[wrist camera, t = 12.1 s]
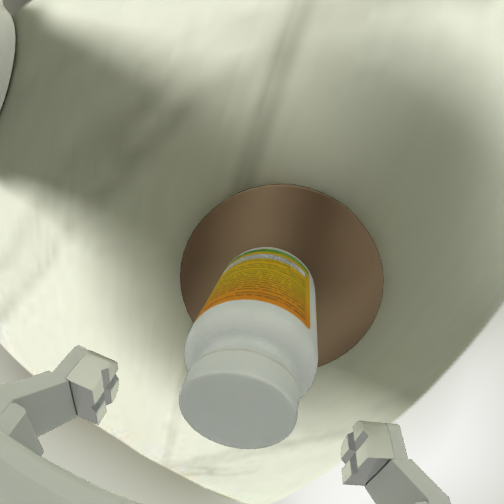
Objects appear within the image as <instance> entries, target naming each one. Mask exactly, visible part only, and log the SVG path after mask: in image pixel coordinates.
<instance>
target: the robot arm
mask: <svg viewBox="0 0 504 504" xmlns="http://www.w3.org/2000/svg"><path fill="white" fill-rule="evenodd" d="M14 54H15V27H14V22H13V19H12V16H11V15H10V13H9V12H8V11H7V10H6V9H5V7H4V5H3V0H0V110H1V107H2V104H3V101H4V99H5V95H6V92H7V89H8V85H9V81H10V77H11V72H12V67H13V61H14ZM117 370H118V363H117V362H116V361H114V360H112V359H109V358H107V357H105V356H102V355H100V354H98V353H96V352H93V351H91V350H88V349H86V348H84V347H82V346H79V345H78V346H76V347H74V348H73V349H72V351H71V352H70V353H69V354H68V355H67V356H66V357H65V358H64V360H63V361H62V362H61V363H60V364H59V365H58V366H57V368H56V369H55V370H54V371H53V372H50V371H47V372H44V373H41V374H37V375H34V376H31V377H28V378H24V379H21V380H18V381H14V382H11V383H7V384H4V385H1V386H0V504H142V503H139V502H137V501H134V500H132V499H129V498H126V497H124V496H121V495H119V494H116V493H114V492H111V491H109V490H107V489H104V488H102V487H100V486H98V485H95V484H93V483H91V482H89V481H87V480H85V479H83V478H81V477H79V476H77V475H75V474H73V473H71V472H69V471H67V470H65V469H63V468H61V467H59V466H58V465H55V464H54V463H52V462H50V461H49V460H47V459H45V458H44V457H42V454H43V452H44V451H43V448H42V446H41V444H40V442H39V440H38V436H40V435H42V434H45V433H47V432H49V431H50V430H52V429H54V428H56V427H58V426H60V425H62V424H64V423H66V422H68V421H70V420H72V419H74V418H76V417H77V416H79V417H81V418H83V419H86V420H88V421H90V422H93V423H95V424H97V425H99V423H100V422H101V420H102V419H103V417H104V415H105V414H106V412H107V411H106V405H108V404H110V403H112V402H113V400H114V399H115V397H116V394H117V391H118V386H119V378H118V377H117V376H116V374H115V373H116V372H117ZM341 459H342V461H343V462H344V463H345V466H344V467H343V468H342V479H343V484H346V485H362V486H365V488H366V490H367V491H368V493H369V494H370V496H371V497H372V499H373V500H374V502H375V503H376V504H451V503H450V499H449V497H448V496H447V495H446V494H445V493H444V492H443V491H442V490H441V489H440V488H439V487H438V486H437V485H436V484H435V483H434V482H433V481H432V480H431V479H430V478H429V477H428V476H427V475H426V474H425V473H424V472H423V471H422V470H421V469H420V468H419V467H418V466H417V465H416V464H415V462H414V461H413V460H412V459H408V457H407V453H406V449H405V445H404V441H403V437H402V433H401V429H400V426H399V425H398V424H391V423H380V422H368V421H358V422H356V423H355V425H354V426H353V432H352V433H350V434H348V435H347V436H346V438H345V439H344V441H343V444H342V447H341Z"/></svg>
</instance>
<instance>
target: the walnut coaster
mask: <svg viewBox="0 0 504 504" xmlns="http://www.w3.org/2000/svg"><path fill="white" fill-rule="evenodd" d="M259 247H273V248H278V249H282V250H284V251H287V252H289V253H291V254H292V255H294V256H295V257H297V258H298V259H299V260H300V261H301V262H302V263H303V264H304V265H305V266H306V267H307V269H308V270H309V272H310V274H311V276H312V278H313V282H314V286H315V294H316V314H317V340H318V364H317V367H319V366H322V365H325V364H327V363H329V362H331V361H333V360H335V359H337V358H339V357H340V356H342V355H343V354H345V353H346V352H348V351H349V350H350V349H351V348H352V347H354V346H355V345H356V344H357V343H358V342H359V341H360V340H361V338H362V337H363V336H364V335H365V334H366V332H367V331H368V329H369V328H370V327H371V325H372V323H373V321H374V319H375V317H376V315H377V312H378V309H379V307H380V303H381V298H382V293H383V270H382V265H381V260H380V256H379V253H378V251H377V248H376V246H375V243H374V242H373V240H372V238H371V236H370V235H369V233H368V231H367V230H366V228H365V227H364V226H363V224H362V223H361V222H360V221H359V219H358V218H357V217H356V216H355V215H354V214H353V213H352V212H351V211H350V210H349V209H348V208H347V207H345V206H344V205H343V204H341V203H340V202H338V201H337V200H335V199H334V198H332V197H330V196H328V195H326V194H324V193H322V192H319V191H316V190H313V189H311V188H307V187H302V186H297V185H288V184H273V185H264V186H259V187H254V188H251V189H248V190H245V191H242V192H240V193H238V194H236V195H234V196H232V197H230V198H228V199H226V200H225V201H224V202H222V203H221V204H219V205H218V206H217V207H215V208H214V209H213V210H212V211H211V212H210V213H209V214H208V215H207V216H205V217H204V218H203V219H202V221H201V222H200V223H199V225H198V226H197V227H196V228H195V230H194V231H193V233H192V235H191V237H190V239H189V240H188V243H187V245H186V248H185V251H184V254H183V258H182V263H181V272H180V281H181V291H182V296H183V300H184V303H185V306H186V309H187V311H188V313H189V315H190V317H191V319H192V321H193V323H194V322H195V320H196V319H197V317H198V315H199V314H200V312H201V310H202V309H203V307H204V305H205V303H206V302H207V300H208V298H209V296H210V295H211V293H212V291H213V290H214V288H215V286H216V284H217V282H218V281H219V279H220V277H221V276H222V274H223V272H224V270H225V269H226V267H227V266H228V265H229V263H230V262H231V261H232V260H233V259H234V258H235V257H237V256H238V255H240V254H241V253H243V252H245V251H247V250H250V249H254V248H259Z"/></svg>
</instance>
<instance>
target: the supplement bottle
mask: <svg viewBox="0 0 504 504" xmlns="http://www.w3.org/2000/svg"><path fill="white" fill-rule="evenodd" d="M184 359H185V365H186V368H187V371H188V375H187V377H186V379H185V382H184V384H183V386H182V389H181V391H180V394H179V407H180V410H181V413H182V415H183V417H184V418H185V420H186V421H187V422H188V424H189V425H190V426H191V427H192V428H193V429H194V430H195V431H197V432H198V433H200V434H201V435H202V436H204V437H206V438H208V439H209V440H212V441H214V442H216V443H219V444H222V445H224V446H228V447H233V448H240V449H258V448H264V447H268V446H272V445H274V444H276V443H279V442H280V441H282V440H284V439H285V438H286V437H287V436H288V435H289V434H290V433H291V432H292V430H293V429H294V427H295V425H296V422H297V413H298V405H299V399H301V398H302V397H303V396H304V395H305V394H306V392H307V391H308V390H309V388H310V387H311V385H312V383H313V381H314V379H315V375H316V372H317V364H318V340H317V314H316V294H315V286H314V282H313V278H312V276H311V274H310V272H309V270H308V269H307V267H306V266H305V265H304V264H303V263H302V262H301V261H300V260H299V259H298V258H297V257H295V256H294V255H292V254H291V253H289V252H287V251H284V250H282V249H278V248H273V247H259V248H254V249H250V250H247V251H245V252H243V253H241V254H240V255H238V256H237V257H235V258H234V259H233V260H232V261H231V262H230V263H229V265H228V266H227V267H226V269H225V270H224V272H223V274H222V276H221V277H220V279H219V281H218V282H217V284H216V286H215V288H214V290H213V291H212V293H211V295H210V296H209V298H208V300H207V302H206V303H205V305H204V307H203V309H202V310H201V312H200V314H199V315H198V317H197V319H196V320H195V322H194V324H193V325H192V327H191V330H190V332H189V334H188V336H187V339H186V343H185V349H184Z"/></svg>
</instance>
